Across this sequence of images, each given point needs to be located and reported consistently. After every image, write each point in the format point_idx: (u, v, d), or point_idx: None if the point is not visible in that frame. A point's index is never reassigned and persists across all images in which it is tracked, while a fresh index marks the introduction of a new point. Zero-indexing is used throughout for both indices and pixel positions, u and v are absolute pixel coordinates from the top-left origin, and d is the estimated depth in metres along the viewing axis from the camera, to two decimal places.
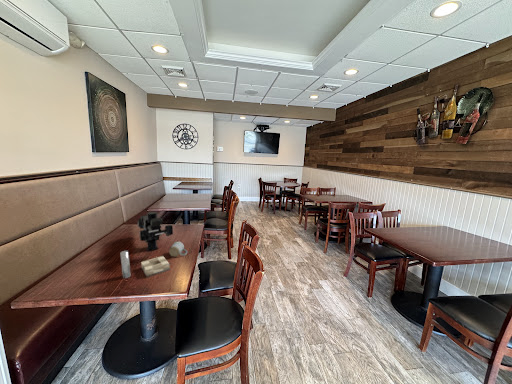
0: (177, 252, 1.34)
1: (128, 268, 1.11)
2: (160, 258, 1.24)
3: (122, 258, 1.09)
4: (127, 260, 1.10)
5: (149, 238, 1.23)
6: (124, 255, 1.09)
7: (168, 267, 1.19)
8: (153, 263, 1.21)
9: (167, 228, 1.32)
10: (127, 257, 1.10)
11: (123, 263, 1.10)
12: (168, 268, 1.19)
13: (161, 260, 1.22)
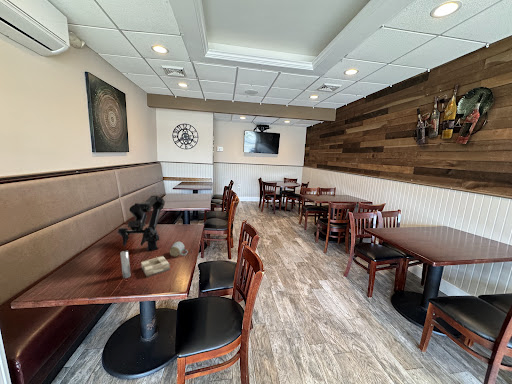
0: (177, 252, 1.34)
1: (128, 268, 1.11)
2: (160, 258, 1.24)
3: (122, 258, 1.09)
4: (127, 260, 1.10)
5: None
6: (124, 255, 1.09)
7: (168, 267, 1.19)
8: (153, 263, 1.21)
9: (144, 234, 1.21)
10: (127, 257, 1.10)
11: (123, 263, 1.10)
12: (168, 268, 1.19)
13: (161, 260, 1.22)
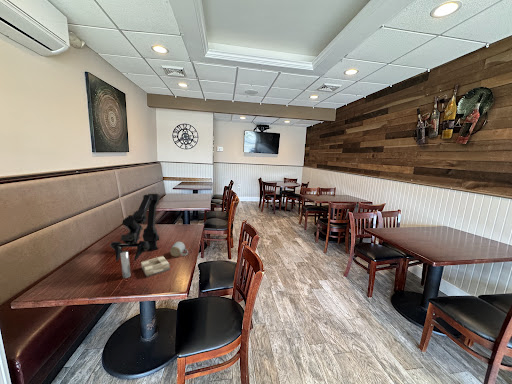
0: (178, 252, 1.34)
1: (128, 268, 1.11)
2: (160, 258, 1.24)
3: (122, 258, 1.09)
4: (127, 260, 1.10)
5: None
6: (124, 255, 1.09)
7: (168, 267, 1.19)
8: (153, 263, 1.21)
9: (138, 248, 1.14)
10: (127, 257, 1.10)
11: (123, 263, 1.10)
12: (168, 268, 1.19)
13: (161, 260, 1.22)
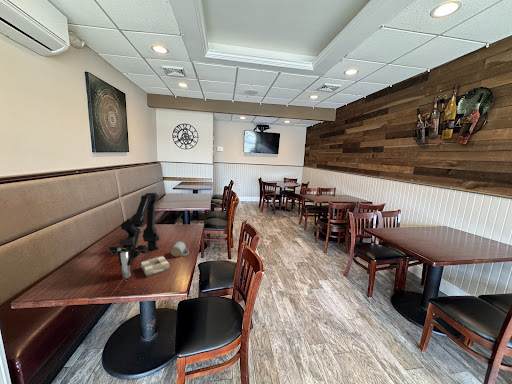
0: (179, 252, 1.34)
1: (128, 268, 1.11)
2: (160, 258, 1.24)
3: (122, 258, 1.09)
4: (127, 260, 1.10)
5: None
6: (124, 255, 1.09)
7: (168, 267, 1.19)
8: (153, 263, 1.21)
9: (132, 252, 1.12)
10: (127, 257, 1.10)
11: (123, 263, 1.10)
12: (168, 268, 1.19)
13: (161, 260, 1.22)
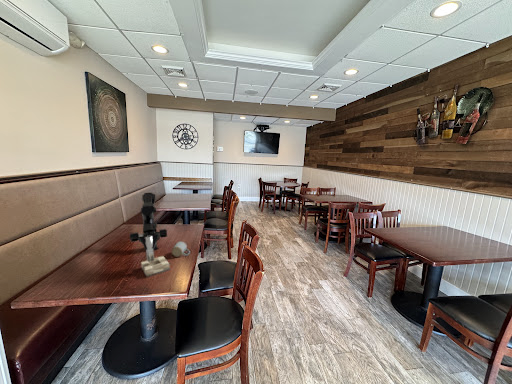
0: (180, 252, 1.34)
1: (153, 251, 1.17)
2: (160, 258, 1.24)
3: (148, 242, 1.14)
4: (152, 244, 1.16)
5: None
6: (150, 239, 1.14)
7: (168, 267, 1.19)
8: (153, 263, 1.21)
9: (155, 236, 1.18)
10: (152, 241, 1.16)
11: (149, 247, 1.15)
12: (168, 268, 1.19)
13: (161, 260, 1.22)
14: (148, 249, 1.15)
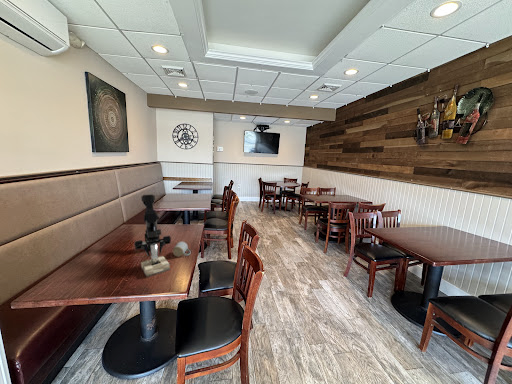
0: (181, 252, 1.34)
1: None
2: (160, 258, 1.24)
3: (153, 250, 1.16)
4: (157, 251, 1.18)
5: (147, 253, 1.17)
6: (155, 247, 1.17)
7: (168, 267, 1.19)
8: None
9: (161, 243, 1.21)
10: (157, 249, 1.18)
11: (154, 255, 1.17)
12: (168, 268, 1.19)
13: (161, 260, 1.22)
14: (153, 257, 1.17)
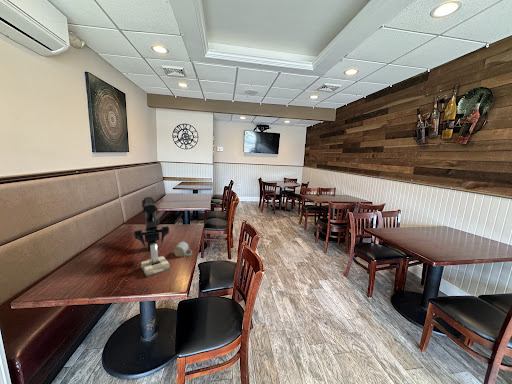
0: (182, 252, 1.34)
1: None
2: (160, 258, 1.24)
3: (153, 250, 1.16)
4: (157, 251, 1.18)
5: (142, 243, 1.22)
6: (155, 247, 1.17)
7: (168, 267, 1.19)
8: None
9: (163, 232, 1.27)
10: (157, 249, 1.18)
11: (154, 255, 1.17)
12: (168, 268, 1.19)
13: (161, 260, 1.22)
14: (153, 257, 1.17)
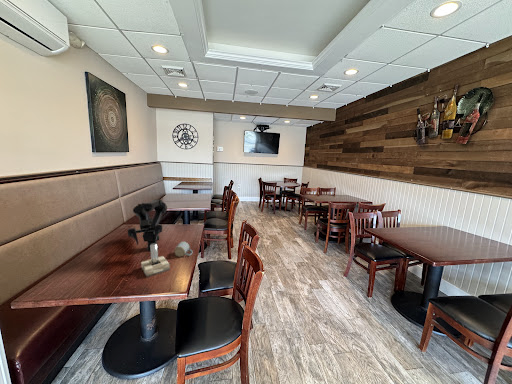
0: (182, 252, 1.34)
1: (157, 259, 1.19)
2: (160, 258, 1.24)
3: (153, 250, 1.16)
4: (157, 251, 1.18)
5: (136, 241, 1.24)
6: (155, 247, 1.17)
7: (168, 267, 1.19)
8: None
9: (156, 231, 1.29)
10: (157, 249, 1.18)
11: (154, 255, 1.17)
12: (168, 268, 1.19)
13: (161, 260, 1.22)
14: (153, 257, 1.17)
